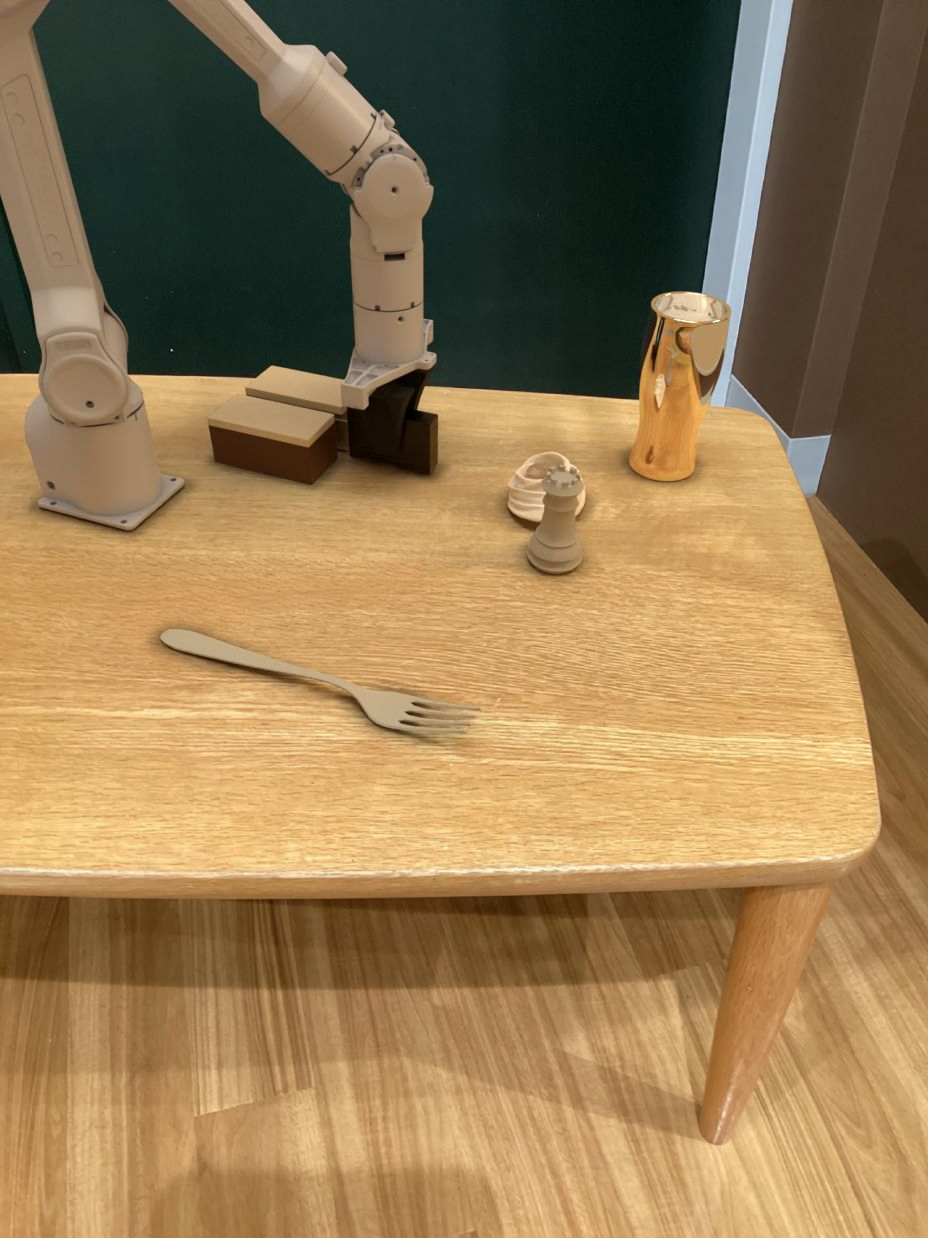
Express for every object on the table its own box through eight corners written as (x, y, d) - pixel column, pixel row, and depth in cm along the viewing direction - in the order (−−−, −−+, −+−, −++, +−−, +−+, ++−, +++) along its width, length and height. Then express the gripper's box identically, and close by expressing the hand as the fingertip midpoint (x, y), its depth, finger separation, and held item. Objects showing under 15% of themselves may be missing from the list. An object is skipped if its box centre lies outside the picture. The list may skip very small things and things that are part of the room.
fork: (175, 621, 67) (171, 602, 66) (484, 722, 60) (485, 703, 59) (147, 648, 65) (142, 629, 64) (464, 756, 58) (465, 737, 57)
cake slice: (250, 429, 89) (244, 386, 86) (276, 407, 92) (271, 365, 89) (344, 450, 86) (341, 406, 83) (367, 426, 90) (365, 383, 87)
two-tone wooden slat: (438, 463, 84) (438, 414, 81) (429, 474, 83) (429, 424, 79) (273, 427, 88) (268, 378, 85) (263, 436, 87) (256, 387, 84)
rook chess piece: (579, 580, 72) (590, 493, 67) (522, 572, 73) (529, 485, 67) (584, 547, 75) (596, 462, 70) (530, 539, 76) (538, 454, 71)
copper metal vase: (710, 459, 86) (746, 302, 77) (682, 492, 82) (716, 330, 72) (642, 438, 89) (668, 283, 79) (611, 469, 85) (634, 309, 75)
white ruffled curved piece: (569, 546, 77) (580, 501, 73) (492, 525, 78) (499, 479, 74) (590, 492, 82) (600, 447, 79) (518, 472, 83) (525, 427, 80)
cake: (214, 461, 84) (206, 417, 81) (243, 436, 88) (236, 392, 85) (312, 484, 81) (307, 439, 79) (337, 457, 85) (334, 413, 82)
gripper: (396, 341, 69) (400, 495, 77) (466, 275, 79) (462, 419, 88) (312, 325, 70) (325, 478, 79) (390, 263, 81) (394, 404, 90)
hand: (392, 446), depth 84 cm, fingers closed on two-tone wooden slat, 2 cm apart
